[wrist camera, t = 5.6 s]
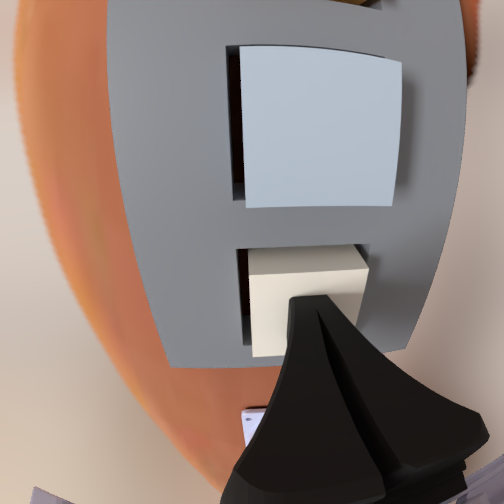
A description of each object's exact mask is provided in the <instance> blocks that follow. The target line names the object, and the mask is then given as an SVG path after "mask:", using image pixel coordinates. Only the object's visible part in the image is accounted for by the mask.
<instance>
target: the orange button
mask: <svg viewBox="0 0 504 504" xmlns="http://www.w3.org/2000/svg"><path fill="white" fill-rule="evenodd" d="M329 1H336V2H342V3H348V4H353V5H358V6H359V5H360V4H362V3H363V2H365V1H366V0H329Z"/></svg>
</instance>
